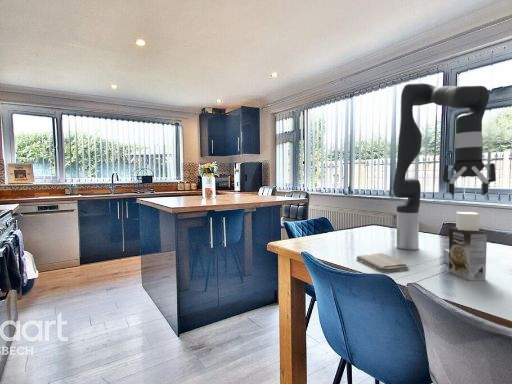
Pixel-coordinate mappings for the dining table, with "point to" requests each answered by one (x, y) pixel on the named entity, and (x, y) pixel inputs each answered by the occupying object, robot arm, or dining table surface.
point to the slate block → (446, 256)
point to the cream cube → (467, 221)
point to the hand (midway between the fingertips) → (467, 194)
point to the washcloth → (383, 262)
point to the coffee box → (467, 253)
